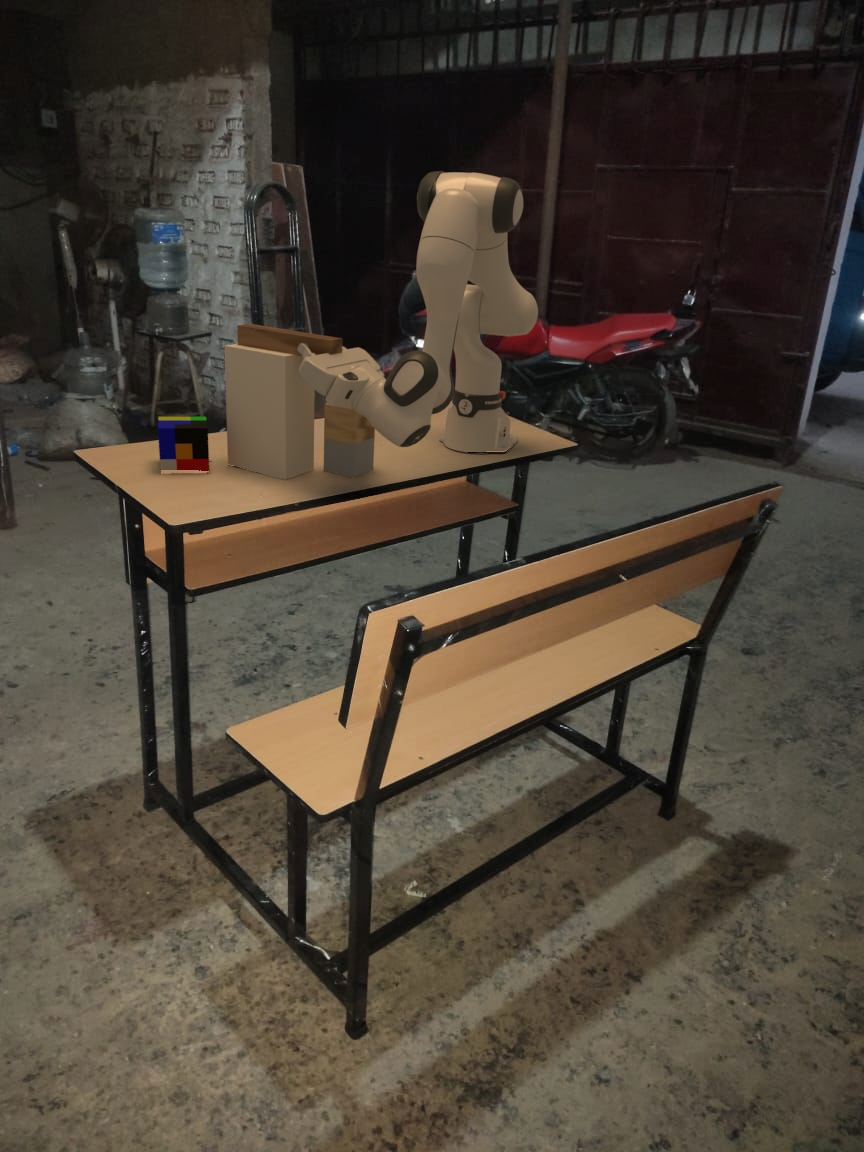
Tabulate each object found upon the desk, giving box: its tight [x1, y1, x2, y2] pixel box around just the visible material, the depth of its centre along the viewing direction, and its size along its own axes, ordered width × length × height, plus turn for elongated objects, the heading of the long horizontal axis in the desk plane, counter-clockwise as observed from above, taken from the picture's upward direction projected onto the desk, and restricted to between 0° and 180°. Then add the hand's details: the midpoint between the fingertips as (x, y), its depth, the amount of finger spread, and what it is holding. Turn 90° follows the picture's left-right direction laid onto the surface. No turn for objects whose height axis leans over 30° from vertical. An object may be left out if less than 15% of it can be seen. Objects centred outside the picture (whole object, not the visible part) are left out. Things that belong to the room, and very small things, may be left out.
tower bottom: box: [323, 437, 375, 479], centre depth 191 cm, size 8×8×8 cm
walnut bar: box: [236, 323, 343, 356], centre depth 177 cm, size 4×24×4 cm, turn 61°
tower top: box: [323, 402, 376, 444], centre depth 188 cm, size 8×8×8 cm
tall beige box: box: [224, 343, 316, 481], centre depth 185 cm, size 10×16×26 cm, turn 61°
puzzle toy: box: [157, 416, 210, 472], centre depth 185 cm, size 10×10×10 cm
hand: (313, 343), depth 174 cm, fingers open, 7 cm apart
